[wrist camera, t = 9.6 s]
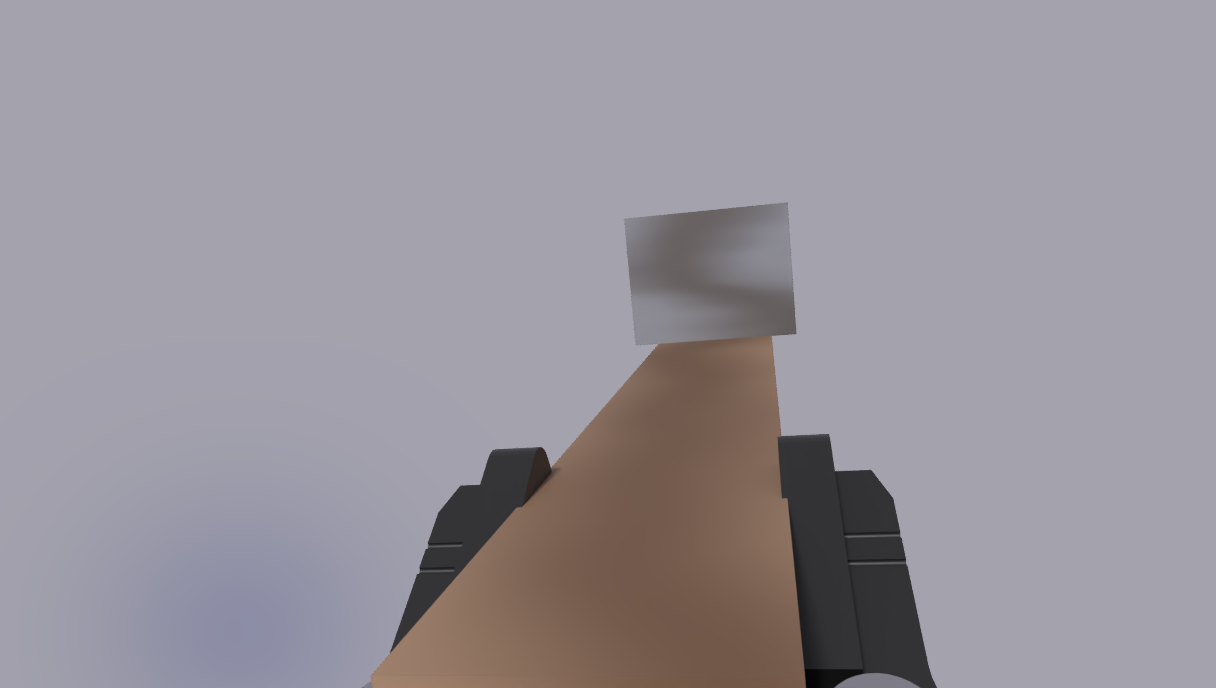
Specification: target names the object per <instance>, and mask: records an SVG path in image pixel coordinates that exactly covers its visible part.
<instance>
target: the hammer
mask: <svg viewBox="0 0 1216 688" xmlns="http://www.w3.org/2000/svg"><path fill="white" fill-rule="evenodd" d="M624 222H625V232H626V242H627V243H626V244H627V255H628V265H629V276H630V286H631V298H632V309H633V320H634V331H635V342H636V345H648V344H658V346H657V347H656V348H655V349H654V350H653V351H652V353H651V354H650V355H649V356H648V357H647V358H646V359H645V361H644V362H643V363H642V364H641V365H640V366H639V368H638V369H637V370H636V371H635V372H634V373H633V375H631V377H630V378H629V379H628V380H627V381H626V382H625V384H624V385H623V386H622V387H621V388H620V389H619V391H618V392H617V393H616V394H615V395H614V396H613V397H612V399H611V400H610V401H609V402H608V403H607V404H606V405H605V407H604V408H603V409H602V410H601V411H600V412H599V413H598V415H597V416H596V417H595V418H594V419H593V420H592V422H591V423H590V424H589V425H588V426H587V427H586V428H585V430H584V431H583V432H582V433H581V434H580V435H579V437H578V438H577V439H576V440H575V441H574V442H573V443H572V445H571V446H570V447H569V448H568V449H567V450H566V451H565V453H564V454H563V455H562V456H561V458H559V460H558V461H557V462H556V463H555V464H554V465H553V466H552V468H551V470H552V472H551V474H550V475H549V476H548V477H547V478H546V479H545V481H544V482H543V483H542V484H541V485H540V487H539V488H538V489H537V490H536V491H535V492H534V494H533V495H532V496H531V497H530V498H529V499H528V501H527V502H526V503H525V504H524V505H523V507H518V508H516V509H515V510H514V511H513V512H512V514H511V515H510V516H509V517H508V518H507V519H506V521H505V522H504V523H503V524H502V525H501V526H500V527H499V529H498V530H497V531H496V532H495V533H494V534H493V536H492V537H491V538H490V539H489V540H488V541H487V542H486V544H485V545H484V546H483V547H482V548H481V549H480V550H479V552H478V553H477V554H476V555H475V556H474V557H473V559H472V560H471V561H470V562H469V563H468V564H467V565H466V567H465V568H464V569H463V570H462V571H461V572H460V574H459V575H458V576H457V577H456V578H455V579H454V580H453V582H452V583H451V584H450V585H449V586H448V587H447V588H446V590H445V591H444V592H443V593H442V594H441V595H440V597H439V598H438V599H437V600H436V601H435V602H434V603H433V605H432V606H431V607H430V608H429V609H428V610H427V611H426V613H425V614H424V615H423V616H422V617H421V618H420V620H419V621H418V622H417V623H416V624H415V625H414V626H413V628H412V629H411V630H410V631H409V632H408V633H407V635H406V636H405V637H404V638H403V639H402V640H401V641H400V643H399V644H398V645H397V646H396V647H395V648H394V649H393V651H392V652H391V653H390V654H389V655H388V656H387V658H386V659H385V660H384V661H383V662H382V663H381V664H380V666H379V667H378V668H377V669H376V670H375V671H374V673H373V674H372V675H371V682H372V688H806V683H805V671H804V661H803V651H802V641H801V631H800V621H799V610H798V600H797V590H796V580H795V570H794V560H793V549H792V539H791V529H790V519H789V509H788V499H787V498H782V494H781V481H780V468H779V454H778V440H777V436H781V428H780V417H779V407H778V397H777V387H776V377H775V367H774V356H773V346H772V336H773V335H788V334H796V323H795V307H794V292H793V278H792V264H791V248H790V234H789V219H788V203H779V204H769V205H759V206H748V207H738V208H728V209H719V210H709V211H698V212H688V213H678V214H668V215H659V216H648V217H639V218H629V219H624Z"/></svg>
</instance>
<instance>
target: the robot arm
mask: <svg viewBox="0 0 1216 688" xmlns="http://www.w3.org/2000/svg"><path fill="white" fill-rule="evenodd" d="M777 440H778V454H779V468H780V481H781V494H782V498H787V499H788V509H789V519H790V529H791V539H792V549H793V560H794V570H795V580H796V590H797V600H798V610H799V621H800V631H801V641H802V651H803V661H804V671H805V683H806V688H937V687H936V685H935V683H934V681H933V678H932V676H931V673H930V669H929V666H928V662H927V656H926V652H925V647H924V643H923V638H922V633H921V629H920V623H919V619H918V614H917V609H916V605H915V600H914V595H913V590H912V585H911V581H910V576H909V571H908V567H907V565H906V557H905V553H904V548H903V543H902V538H901V537H900V529H899V524H898V519H897V514H896V510H895V506H894V500H893V497H892V496H891V495H890V494H889V492H888V491H887V490H886V489H885V487H884V486H883V485H882V483H881V482H880V481H879V480H878V478H877V477H876V476H875V474H874V473H873V472H872V471H871V470H859V471H835V470H834V463H833V457H832V449H831V442H830V437H829V434H819V435H798V436H777ZM551 472H552V470H551V467H550V464H549V461H548V457H547V455H546V452H545V450H544V449H543V448H541V447H536V448H517V449H495V450H493V451H492V452H491V454H490V456H489V458H488V461H487V464H486V468H485V471H484V474H483V478H482V481H481V484H480V485H466V486H460V487H459V488H458V489H457V491H456V492H455V493H454V494H453V496H452V497H451V498H450V499H449V500H448V502H447V503H446V504H445V506H444V507H443V508H442V509H441V510H440V512H439V513H438V516H437V518H436V521H435V524H434V527H433V530H432V533H431V536H430V539H429V541H428V545H429V546H428V549H426V550H425V553H424V556H423V559H422V562H421V565H420V573H419V574H417V577H416V579H415V582H414V585H413V588H412V591H411V594H410V597H409V600H408V602H407V605H406V608H405V611H404V614H403V617H402V620H401V623H400V626H399V628H398V631H397V634H396V637H395V640H394V643H393V646H392V649H391V652H392V651H393V649H394V648H395V647H396V646H397V645H398V644H399V643H400V641H401V640H402V639H403V638H404V637H405V636H406V635H407V633H408V632H409V631H410V630H411V629H412V628H413V626H414V625H415V624H416V623H417V622H418V621H419V620H420V618H421V617H422V616H423V615H424V614H425V613H426V611H427V610H428V609H429V608H430V607H431V606H432V605H433V603H434V602H435V601H436V600H437V599H438V598H439V597H440V595H441V594H442V593H443V592H444V591H445V590H446V588H447V587H448V586H449V585H450V584H451V583H452V582H453V580H454V579H455V578H456V577H457V576H458V575H459V574H460V572H461V571H462V570H463V569H464V568H465V567H466V565H467V564H468V563H469V562H470V561H471V560H472V559H473V557H474V556H475V555H476V554H477V553H478V552H479V550H480V549H481V548H482V547H483V546H484V545H485V544H486V542H487V541H488V540H489V539H490V538H491V537H492V536H493V534H494V533H495V532H496V531H497V530H498V529H499V527H500V526H501V525H502V524H503V523H504V522H505V521H506V519H507V518H508V517H509V516H510V515H511V514H512V512H513V511H514V510H515V509H516V508H518V507H523V505H524V504H525V503H526V502H527V501H528V499H529V498H530V497H531V496H532V495H533V494H534V492H535V491H536V490H537V489H538V488H539V487H540V485H541V484H542V483H543V482H544V481H545V479H546V478H547V477H548V476H549V475H550V474H551ZM391 652H390V653H391ZM362 688H372V682H369V683H368V684H366V685H365V686H364V687H362Z"/></svg>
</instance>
